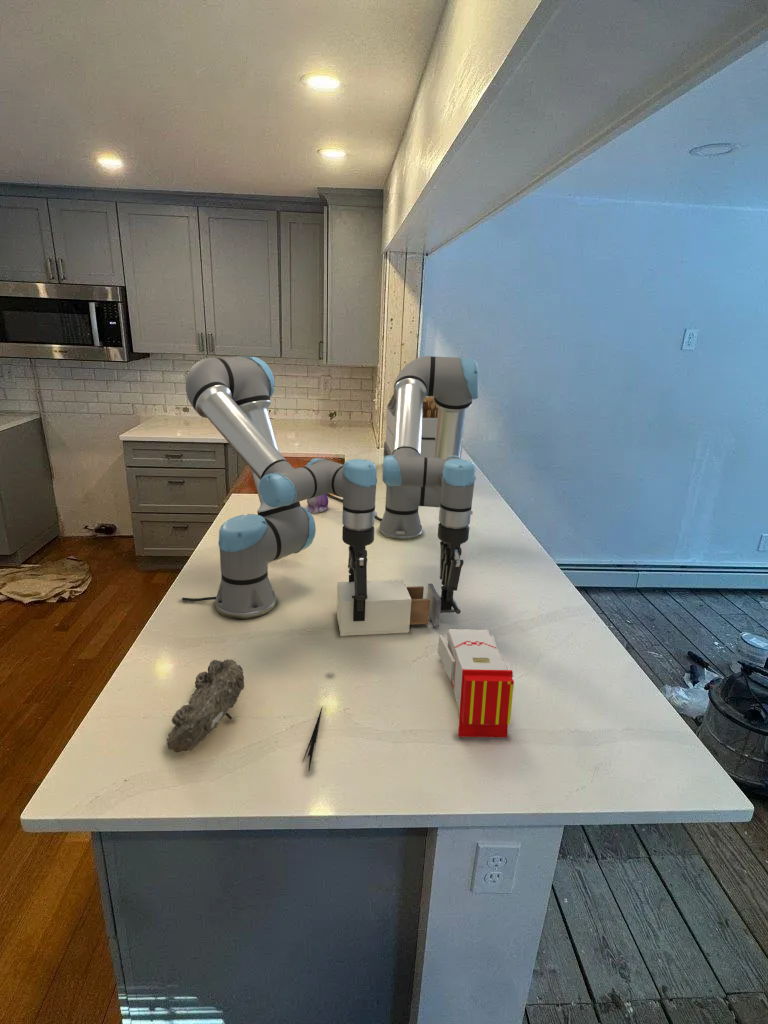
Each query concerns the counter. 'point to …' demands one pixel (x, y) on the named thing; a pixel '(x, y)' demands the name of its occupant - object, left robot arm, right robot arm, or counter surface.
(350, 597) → the cabinet
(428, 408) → the transformer
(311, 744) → the feather
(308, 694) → the counter surface
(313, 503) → the figurine
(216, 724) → the fossil
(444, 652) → the toy
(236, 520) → the left robot arm
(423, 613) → the drawer
